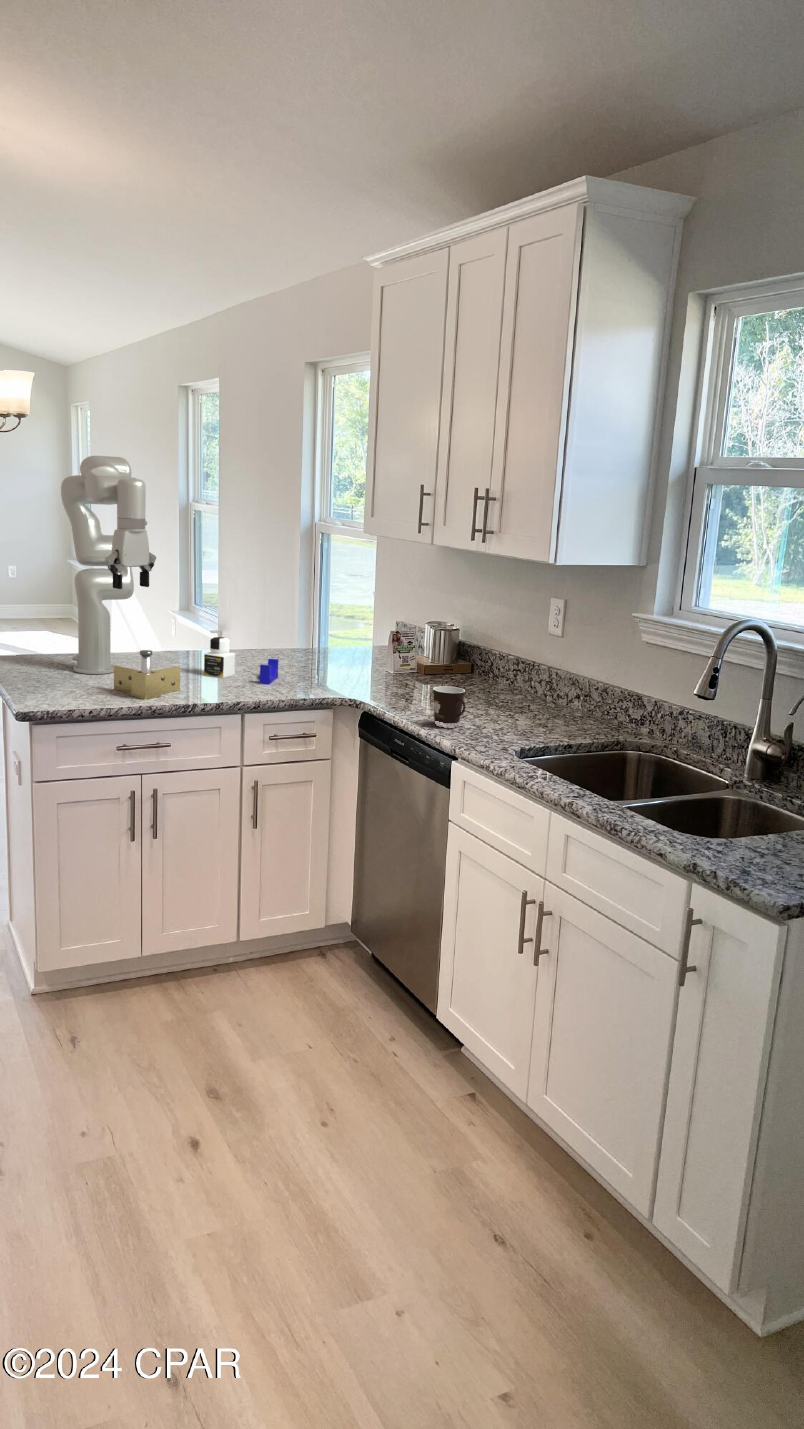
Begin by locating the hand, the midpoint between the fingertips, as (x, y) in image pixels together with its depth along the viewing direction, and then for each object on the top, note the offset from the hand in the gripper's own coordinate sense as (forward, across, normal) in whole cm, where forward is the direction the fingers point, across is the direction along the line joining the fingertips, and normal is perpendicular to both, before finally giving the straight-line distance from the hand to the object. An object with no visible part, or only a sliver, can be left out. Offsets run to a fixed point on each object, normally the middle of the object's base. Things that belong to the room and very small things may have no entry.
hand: (131, 587), depth 287 cm
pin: (+30, -1, +5) cm, 31 cm away
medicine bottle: (+31, -39, -3) cm, 50 cm away
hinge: (+30, -6, 0) cm, 31 cm away
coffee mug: (+31, -36, +83) cm, 96 cm away
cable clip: (+31, -45, +12) cm, 55 cm away
